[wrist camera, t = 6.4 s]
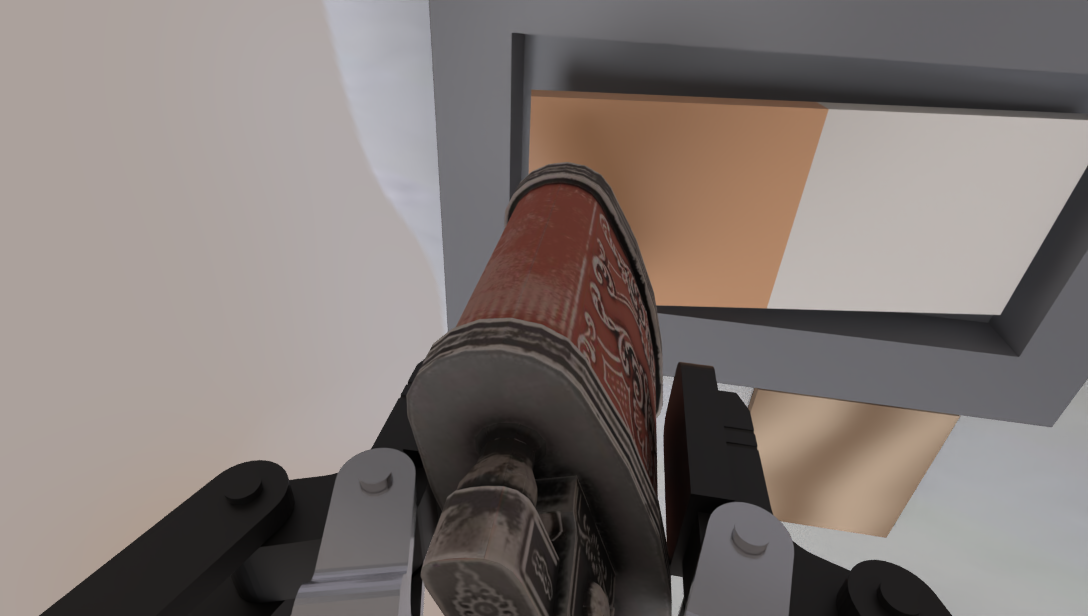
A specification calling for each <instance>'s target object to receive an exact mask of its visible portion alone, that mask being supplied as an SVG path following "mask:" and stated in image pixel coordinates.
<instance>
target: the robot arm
mask: <svg viewBox="0 0 1088 616" xmlns="http://www.w3.org/2000/svg"><path fill="white" fill-rule="evenodd" d="M424 360H425V359H424ZM424 360H423V361H421V362H420V363H419V364H418V365H417V366H416V368H415V370H414V372H413V373H412V375H411V377H410V379H409V381H408V385H406V386H405V388H404V390H403V392H402V393H401V397H400V398H399V399H398V401H397V403H396V404H395V406H394V408H393V410H392V412H391V414H390V415H389V417H388V419H387V421H386V423H385V425H384V427H383V428H382V430H381V432H380V434H379V436H378V437H377V439H376V441H375V443H374V445H373V447H372V448H371V449H370V450H367V451H364V452H361V453H359V454H358V455H355V456H354V457H352V458H351V459H350V460H348V461H347V462H346V463H345V464H344V465H343V467H342V468H341V469H340V471H339V472H338V473H335V474H332V475H326V476H319V477H311V478H302V479H294V480H289V479H288V475H287V473H286V471H285V470H284V469H283V468H282V467H281V466H279V465H278V464H276V463H273V462H270V461H262V460H258V461H250V462H244V463H241V464H238V465H236V466H233V467H231V468H229V469H227V470H225V471H224V472H222V473H221V474H219V475H218V476H217V477H215V478H214V479H213V480H211V481H210V482H209V483H208V484H206V485H205V486H204V487H203V488H201V489H200V490H199V491H197V492H196V493H195V494H194V495H192V496H191V497H190V498H189V499H187V500H186V501H185V502H183V503H182V504H181V505H179V506H178V507H177V508H176V509H174V510H173V511H172V512H171V513H169V514H168V515H167V516H165V517H164V518H163V519H162V520H160V521H159V522H158V523H157V524H155V525H154V526H153V527H152V528H150V529H149V530H148V531H146V532H145V533H144V534H143V535H141V536H140V537H139V538H137V539H136V540H135V541H134V542H133V543H131V544H130V545H129V546H127V547H126V548H125V549H124V550H122V551H121V552H120V553H118V554H117V555H116V556H115V557H113V558H112V559H111V560H109V561H108V562H107V563H106V564H104V565H103V566H102V567H100V568H99V569H98V570H97V571H95V572H94V573H93V574H92V575H90V576H89V577H88V578H87V579H85V580H84V581H83V582H81V583H80V584H79V585H78V586H76V587H75V588H74V589H73V590H71V591H70V592H69V593H67V594H66V595H65V596H64V597H62V598H61V599H60V600H58V601H57V602H56V603H55V604H53V605H52V606H51V607H50V608H48V609H47V610H46V611H44V612H43V613H42V614H41V615H39V616H423V609H424V608H423V607H424V591H425V585H424V583H423V581H422V579H421V570H422V566H423V563H424V560H425V557H426V554H427V551H428V549H429V546H430V543H431V540H432V538H433V535H434V533H435V530H436V527H437V524H438V522H439V519H440V516H441V513H442V510H441V508H440V506H439V504H438V502H437V500H436V498H435V496H434V494H433V492H432V489H431V487H430V484H429V481H428V478H427V475H426V471H425V468H424V465H423V462H422V459H421V456H420V453H419V450H418V447H417V444H416V440H415V437H414V434H413V431H412V428H411V425H410V422H409V419H408V416H407V397H406V395H407V393H408V391H409V389H410V387H411V385H412V383H413V381H414V379H415V377H416V375H417V373H418V371H419V370H420V368H421V366H422V364H423V362H424ZM757 447H758V445H757V441H756V436H755V434H754V427H753V423H752V418H751V414H750V410H749V409H748V408H747V406H746V405H745V404H744V402H743V401H742V400H741V399H740V397H739V396H738V395H737V393H734V392H726V391H719V390H718V387H717V381H716V375H715V369H714V367H713V366H708V365H701V364H693V363H685V362H679V363H678V365H677V368H676V372H675V376H674V381H673V385H672V390H671V394H670V398H669V403H668V407H667V412H666V417H665V425H664V472H665V503H666V533H667V547H668V553H669V558H670V572H671V575H674V576H680V577H683V588H684V598H683V601H682V604H681V607H680V610H679V614H678V616H952V615H951V614H950V612H949V611H948V610H947V609H946V607H945V606H944V605H943V603H942V602H941V601H940V599H939V598H938V597H937V595H936V594H935V593H934V592H933V591H932V589H931V588H930V587H929V586H928V585H926V584H925V583H924V582H923V581H922V580H921V579H920V578H918V577H917V576H916V575H914V574H913V573H911V572H909V571H908V570H906V569H904V568H902V567H900V566H898V565H895V564H893V563H889V562H886V561H880V560H867V561H863V562H860V563H858V564H857V565H855V566H854V567H853V568H852V570H851V571H849V570H847V569H845V568H843V567H840V566H838V565H836V564H834V563H831V562H829V561H827V560H824V559H822V558H820V557H818V556H815V555H813V554H811V553H809V552H808V551H806V550H804V549H803V548H801V547H800V546H798V545H797V544H796V543H795V542H793V541H792V538H791V536H790V534H789V532H788V531H787V529H786V528H785V526H784V525H783V524H782V523H781V522H780V521H779V520H778V519H777V518H776V517H775V516H774V515H773V512H772V509H771V505H770V500H769V495H768V491H767V486H766V482H765V477H764V473H763V468H762V464H761V459H760V455H759V450H757Z"/></svg>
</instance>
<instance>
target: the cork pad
mask: <svg viewBox="0 0 1088 616" xmlns="http://www.w3.org/2000/svg"><path fill="white" fill-rule="evenodd" d="M748 409H749V410H750V414H751V418H752V423H753V427H754V434H755V436H756V441H757V445H758V447H757V450H759V455H760V459H761V464H762V468H763V473H764V477H765V482H766V486H767V491H768V495H769V500H770V505H771V509H772V512H773V515H774V516H775V517H776V518H777V519H778V520H779V521H783V522H789V523H796V524H802V525H809V526H815V527H821V528H828V529H834V530H841V531H847V532H853V533H860V534H866V535H873V536H879V537H885V538H886V537H887V536H888V534H889V532H890V531H891V529H892V527H893V526H894V524H895V522H896V521H897V519H898V518H899V516H900V514H901V513H902V511H903V509H904V508H905V506H906V504H907V503H908V501H909V500H910V498H911V496H912V495H913V493H914V491H915V490H916V488H917V486H918V485H919V483H920V481H921V480H922V478H923V477H924V475H925V473H926V472H927V470H928V468H929V467H930V465H931V463H932V462H933V460H934V459H935V457H936V455H937V454H938V452H939V450H940V449H941V447H942V445H943V444H944V442H945V440H946V439H947V437H948V436H949V434H950V432H951V431H952V429H953V427H954V426H955V424H956V422H957V421H958V419H959V418H960V416H959V415H956V414H949V413H941V412H934V411H926V410H918V409H911V408H903V407H896V406H888V405H881V404H873V403H866V402H858V401H851V400H843V399H836V398H828V397H821V396H813V395H806V394H798V393H791V392H783V391H776V390H768V389H761V388H754V391H753V394H752V397H751V400H750V404H749V407H748Z"/></svg>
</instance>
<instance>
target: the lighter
mask: <svg viewBox="0 0 1088 616" xmlns="http://www.w3.org/2000/svg"><path fill="white" fill-rule="evenodd" d="M504 227H505V229H504V231H503V233H502V235H501V237H500V239H499V241H498V243H497V245H496V247H495V249H494V251H493V253H492V255H491V257H490V259H489V261H488V263H487V265H486V267H485V269H484V271H483V273H482V275H481V277H480V279H479V281H478V283H477V285H476V287H475V289H474V291H473V293H472V295H471V297H470V299H469V301H468V303H467V305H466V307H465V309H464V311H463V313H462V315H461V317H460V319H459V321H458V323H457V325H456V327H455V328H452V329H451V330H450V331H449V332H447V333H446V334H445V335H444V336H442V337H441V338H440V339H439V340H437V341H436V342H435V343H434V344H433V345H432V347H431V349H430V351H429V353H428V355H427V357H426V358H425V360H424V362H423V364H422V366H421V368H420V370H419V371H418V373H417V375H416V377H415V379H414V381H413V383H412V385H411V387H410V389H409V391H408V393H407V395H406V397H407V416H408V419H409V422H410V425H411V428H412V431H413V434H414V437H415V440H416V444H417V447H418V450H419V453H420V456H421V459H422V462H423V465H424V468H425V471H426V475H427V478H428V481H429V484H430V487H431V489H432V492H433V494H434V496H435V498H436V500H437V502H438V504H439V506H440V508H441V510H442V513H441V516H440V519H439V522H438V524H437V527H436V530H435V533H434V535H433V538H432V541H431V544H430V547H429V549H428V552H427V555H426V558H425V560H424V563H423V566H422V570H421V579H422V581H423V583H424V585H425V587H426V589H427V590H428V592H429V593H430V595H431V596H432V598H433V599H434V601H435V602H436V604H437V605H438V606H439V608H440V610H441V611H442V613H443V614H444V615H445V616H671V610H672V599H671V572H670V558H669V553H668V547H667V542H666V537H665V532H664V527H663V522H662V516H661V511H660V506H659V501H658V491H657V439H656V418H657V417H658V416H659V415H660V412H661V409H662V405H663V359H662V339H661V333H660V327H659V320H658V314H657V307H656V301H655V295H654V291H653V288H652V285H651V282H650V279H649V276H648V273H647V270H646V267H645V264H644V261H643V258H642V255H641V251H640V248H639V245H638V242H637V240H636V238H635V236H634V233H633V231H632V229H631V227H630V225H629V223H628V221H627V219H626V217H625V215H624V213H623V211H622V209H621V207H620V205H619V203H618V200H617V198H616V196H615V194H614V192H613V190H612V188H611V186H610V185H609V184H608V183H607V181H606V180H605V179H604V178H603V176H602V175H601V174H599V173H598V172H596V171H594V170H592V169H591V168H589V167H587V166H585V165H580V164H575V163H570V162H563V163H553V164H548V165H545V166H543V167H541V168H538V169H536V170H534V171H532V172H531V173H530V174H529V175H527V176H526V177H525V178H524V179H523V180H522V181H521V182H520V183H519V185H518V187H517V188H516V190H515V192H514V194H513V196H512V198H511V200H510V202H509V204H508V206H507V208H506V210H505V222H504Z"/></svg>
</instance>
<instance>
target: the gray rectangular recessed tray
mask: <svg viewBox="0 0 1088 616" xmlns="http://www.w3.org/2000/svg"><path fill="white" fill-rule="evenodd" d="M429 11H430V29H431V46H432V63H433V81H434V98H435V115H436V133H437V150H438V167H439V185H440V202H441V219H442V237H443V254H444V271H445V289H446V306H447V324H448V332H449V331H450V330H451V329H452V328H455V327H456V325H457V323H458V321H459V319H460V317H461V315H462V313H463V311H464V309H465V307H466V305H467V303H468V301H469V299H470V297H471V295H472V293H473V291H474V289H475V287H476V285H477V283H478V281H479V279H480V277H481V275H482V273H483V271H484V269H485V267H486V265H487V263H488V261H489V259H490V257H491V255H492V253H493V251H494V249H495V247H496V245H497V243H498V241H499V239H500V237H501V235H502V233H503V231H504V229H505V227H504V222H505V210H506V208H507V206H508V204H509V202H510V200H511V198H512V196H513V194H514V192H515V190H516V188H517V187H518V185H519V183H520V182H521V181H522V180H523V179H524V178H525V177H526V176H527V175H529V144H530V112H531V90H553V91H576V92H599V93H622V94H645V95H668V96H691V97H714V98H737V99H760V100H783V101H806V102H829V103H852V104H875V105H898V106H921V107H944V108H967V109H990V110H1013V111H1036V112H1059V113H1082V114H1088V0H429ZM656 307H657V314H658V320H659V327H660V333H661V339H662V359H663V376H670V377H674V376H675V372H676V368H677V365H678V363H679V362H685V363H693V364H701V365H708V366H713V367H714V369H715V375H716V381H717V383H723V384H731V385H738V386H746V387H753V388H761V389H768V390H776V391H783V392H791V393H798V394H806V395H813V396H821V397H828V398H836V399H843V400H851V401H858V402H866V403H873V404H881V405H888V406H896V407H903V408H911V409H918V410H926V411H934V412H941V413H949V414H956V415H964V416H971V417H979V418H986V419H994V420H1001V421H1009V422H1016V423H1024V424H1031V425H1039V426H1046V427H1052V426H1053V425H1054V423H1055V422H1056V421H1057V419H1058V418H1059V417H1060V415H1061V414H1062V413H1063V411H1064V410H1065V409H1066V407H1067V406H1068V405H1069V403H1070V402H1071V400H1072V399H1073V398H1074V396H1075V395H1076V394H1077V392H1078V391H1079V390H1080V388H1081V387H1082V386H1083V384H1084V383H1085V382H1086V380H1087V379H1088V166H1087V168H1086V169H1085V171H1084V173H1083V174H1082V176H1081V178H1080V180H1079V181H1078V183H1077V185H1076V186H1075V188H1074V190H1073V191H1072V193H1071V195H1070V197H1069V198H1068V200H1067V202H1066V203H1065V205H1064V207H1063V209H1062V210H1061V212H1060V214H1059V215H1058V217H1057V219H1056V221H1055V222H1054V224H1053V226H1052V227H1051V229H1050V231H1049V233H1048V234H1047V236H1046V238H1045V239H1044V241H1043V243H1042V244H1041V246H1040V248H1039V250H1038V251H1037V253H1036V255H1035V256H1034V258H1033V260H1032V262H1031V263H1030V265H1029V267H1028V268H1027V270H1026V272H1025V274H1024V275H1023V277H1022V279H1021V280H1020V282H1019V284H1018V286H1017V287H1016V289H1015V291H1014V292H1013V294H1012V296H1011V298H1010V299H1009V301H1008V303H1007V304H1006V306H1005V308H1004V309H1003V311H1002V313H1001V315H986V314H950V313H914V312H879V311H843V310H807V309H771V308H735V307H699V306H663V305H656Z"/></svg>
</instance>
